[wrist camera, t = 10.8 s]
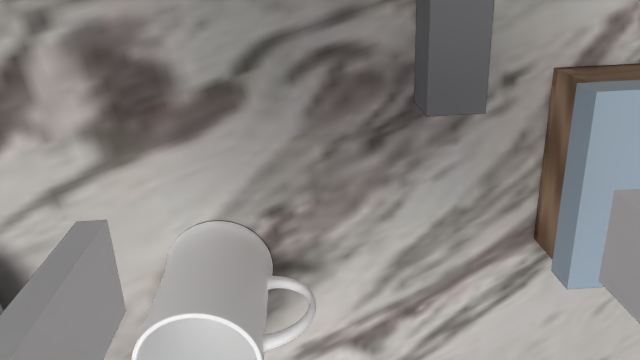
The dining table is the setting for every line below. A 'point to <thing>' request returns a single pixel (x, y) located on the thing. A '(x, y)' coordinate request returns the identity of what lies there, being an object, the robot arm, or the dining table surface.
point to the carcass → (565, 140)
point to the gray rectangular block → (452, 56)
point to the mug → (216, 299)
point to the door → (595, 176)
